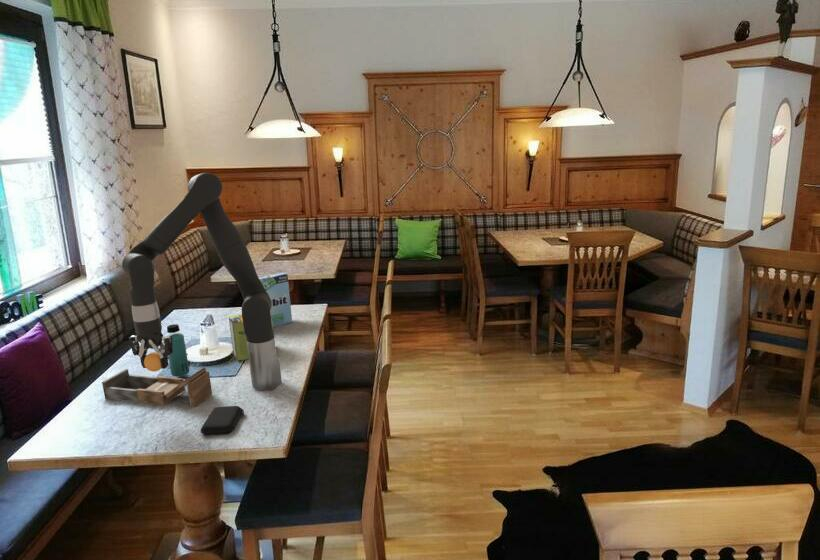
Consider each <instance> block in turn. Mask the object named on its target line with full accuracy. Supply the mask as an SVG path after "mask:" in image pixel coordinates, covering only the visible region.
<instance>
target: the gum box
mask: <svg viewBox="0 0 820 560" xmlns="http://www.w3.org/2000/svg"><path fill="white" fill-rule="evenodd" d="M258 277H259V276H258ZM259 279H260V281H261V283H262V285H263V286H264V288H265V290H266V291H267V293H268V295H269V297H270V299H271V302H272V307H271V310H270V314H271V316H272V320H273V328H274V327H277V326H282V325H286V324H290V323H291V324H292V323H293V315H292V307H291V306H292V305H291V298H290V285H289V275H288V274H287V273H286V272H280V273H274V274H270V275H264V276H260V277H259Z"/></svg>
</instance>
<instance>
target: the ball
mask: <svg viewBox="0 0 820 560" xmlns="http://www.w3.org/2000/svg"><path fill="white" fill-rule="evenodd" d="M146 355H147V356H146V357H145V359H144V365H145V367H146V368H145V369H146V370H147V371H150V372H158V371H160V370H163V369H162V367H161V362H160V358H161V357H160V356H159V354H158V353H157V352H155V351H154V352H150V353H148V354H146Z"/></svg>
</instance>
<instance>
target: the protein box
mask: <svg viewBox="0 0 820 560" xmlns="http://www.w3.org/2000/svg"><path fill="white" fill-rule="evenodd" d="M228 323H229V329H230V338H231V339H230V340H231V346H232V347H231V348H232V353H233V352H234V353H233V355H234V357H235V359H236V361H237V362H240V361H239V360H241V361H245V360H249V355H248V347H247V339H246V335H245V332H244V326H243V319H242V314H236V315H232V316H228ZM271 323H272V329H273V330H274V327H273V320H272V316H271ZM274 331H275V330H274ZM274 339H275V337H274ZM275 348H277V347H276V346H275Z"/></svg>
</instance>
